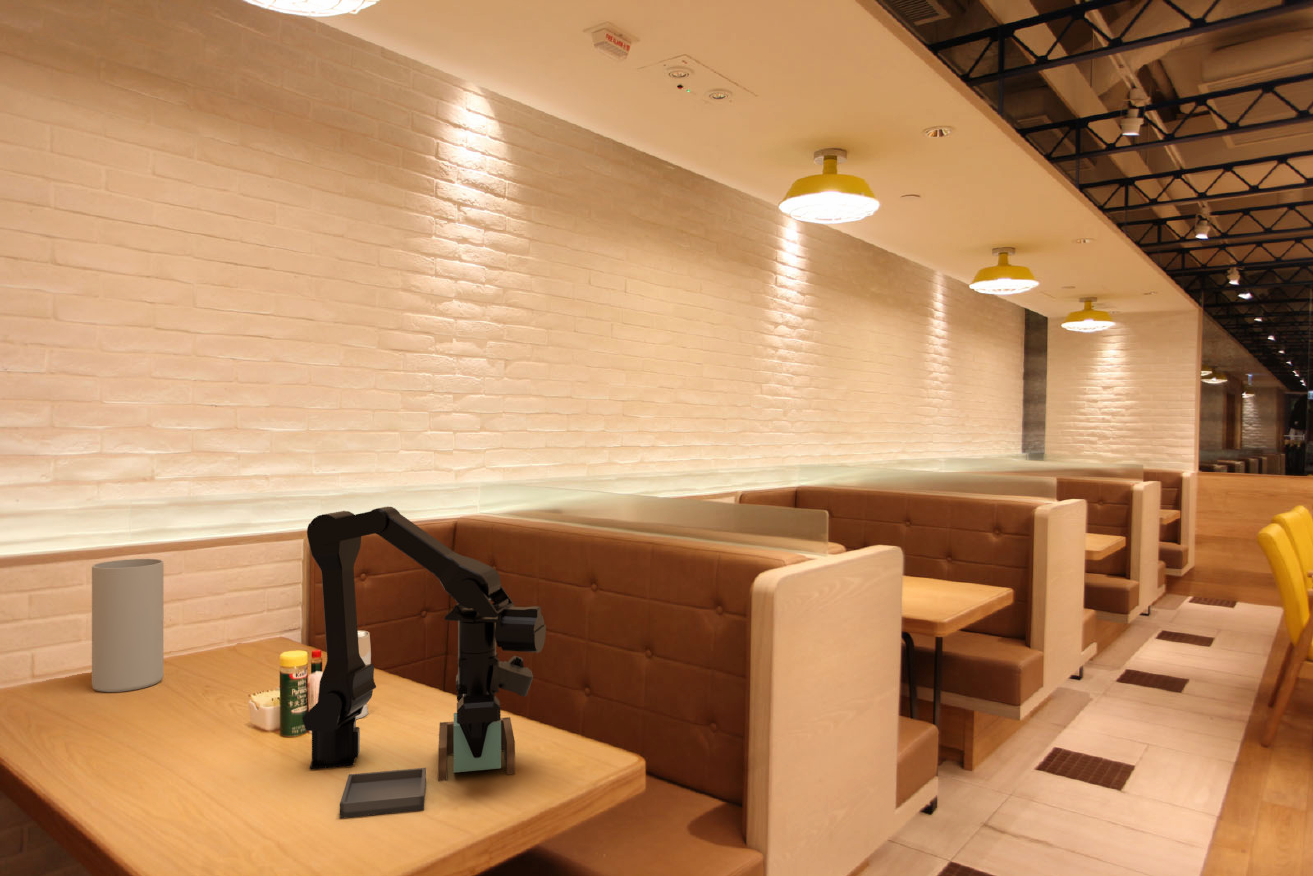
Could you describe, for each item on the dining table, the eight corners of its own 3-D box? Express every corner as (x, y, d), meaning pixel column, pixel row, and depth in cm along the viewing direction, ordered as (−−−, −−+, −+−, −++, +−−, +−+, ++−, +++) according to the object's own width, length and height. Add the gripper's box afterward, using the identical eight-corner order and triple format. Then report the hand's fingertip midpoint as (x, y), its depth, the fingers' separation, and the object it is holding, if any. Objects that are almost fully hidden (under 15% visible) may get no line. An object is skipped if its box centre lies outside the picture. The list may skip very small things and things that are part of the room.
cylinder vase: (139, 693, 165) (139, 568, 165) (77, 693, 165) (76, 568, 165) (176, 675, 178) (176, 559, 178) (118, 674, 178) (118, 558, 178)
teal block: (453, 772, 125) (453, 726, 124) (453, 757, 130) (453, 712, 130) (500, 768, 126) (501, 722, 126) (498, 753, 132) (498, 709, 132)
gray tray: (339, 818, 113) (339, 804, 113) (348, 787, 122) (348, 774, 122) (423, 810, 115) (423, 796, 115) (426, 780, 125) (426, 767, 125)
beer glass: (357, 723, 150) (357, 640, 149) (322, 720, 151) (322, 638, 151) (377, 710, 156) (378, 631, 156) (344, 707, 158) (344, 629, 158)
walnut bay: (438, 781, 125) (438, 748, 125) (439, 753, 136) (439, 722, 136) (514, 774, 128) (514, 741, 128) (510, 747, 139) (510, 717, 139)
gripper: (535, 662, 121) (535, 768, 121) (524, 631, 139) (524, 724, 139) (457, 667, 118) (456, 775, 118) (456, 635, 136) (455, 730, 137)
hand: (476, 749), depth 128 cm, fingers closed on teal block, 6 cm apart
